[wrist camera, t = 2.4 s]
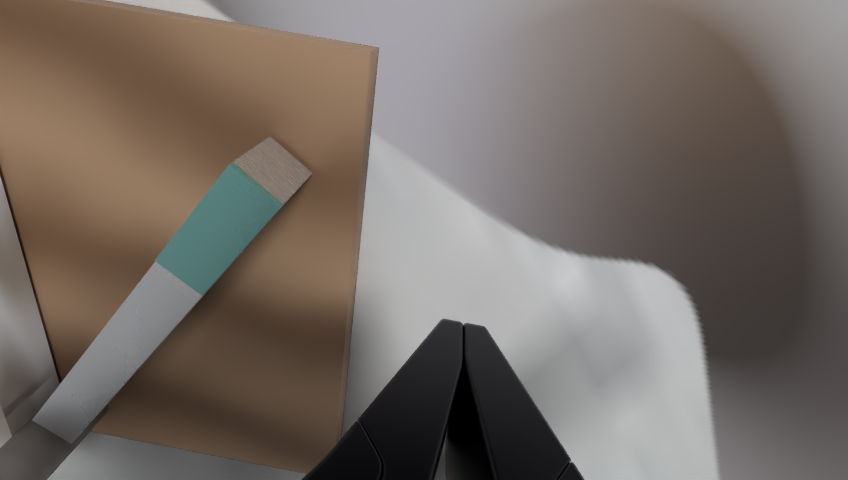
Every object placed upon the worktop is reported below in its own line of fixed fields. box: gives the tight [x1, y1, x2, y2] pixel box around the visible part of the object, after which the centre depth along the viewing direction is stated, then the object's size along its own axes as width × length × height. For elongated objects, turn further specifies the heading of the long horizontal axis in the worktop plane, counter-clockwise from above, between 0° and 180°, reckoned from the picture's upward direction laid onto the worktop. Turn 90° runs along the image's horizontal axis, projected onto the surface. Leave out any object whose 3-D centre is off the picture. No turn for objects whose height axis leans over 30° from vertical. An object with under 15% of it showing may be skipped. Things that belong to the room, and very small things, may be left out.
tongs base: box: [0, 0, 379, 480], centre depth 16 cm, size 18×18×5 cm
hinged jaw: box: [32, 137, 312, 444], centre depth 16 cm, size 14×2×3 cm, turn 137°
